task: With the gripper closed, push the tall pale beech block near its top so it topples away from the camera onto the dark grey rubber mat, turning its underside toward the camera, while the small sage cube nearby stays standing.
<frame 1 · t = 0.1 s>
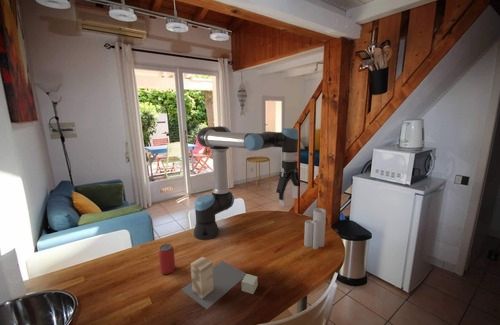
hand: (288, 201, 115), 28 cm above the table, fingers open, 13 cm apart
beer can: (168, 270, 107), on the table
rubber mat: (215, 282, 98), on the table
vase: (314, 245, 126), on the table
sage cube: (249, 289, 94), on the table
beech block: (203, 291, 93), point 1 cm above the table, touching rubber mat
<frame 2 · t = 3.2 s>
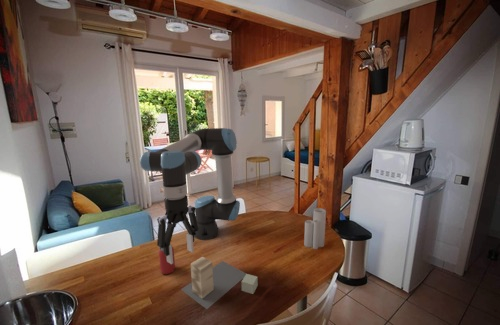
hand: (180, 256, 82), 21 cm above the table, fingers open, 8 cm apart
nothing on the table moved.
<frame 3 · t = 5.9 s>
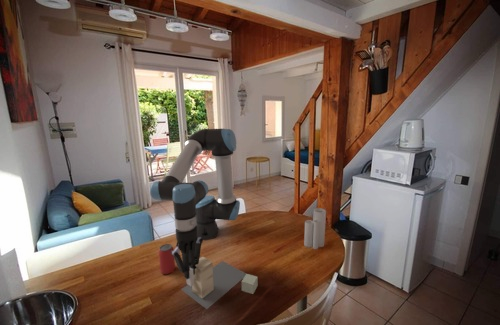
hand: (190, 283, 87), 8 cm above the table, fingers closed
beech block: (203, 291, 93), point 1 cm above the table, touching gripper, rubber mat
everything else where it was.
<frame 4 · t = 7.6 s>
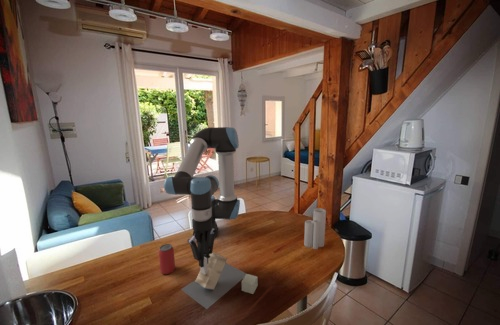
hand: (204, 272, 92), 9 cm above the table, fingers closed
beech block: (204, 286, 93), point 3 cm above the table, tilted 40°, touching gripper, rubber mat
everything else where it was.
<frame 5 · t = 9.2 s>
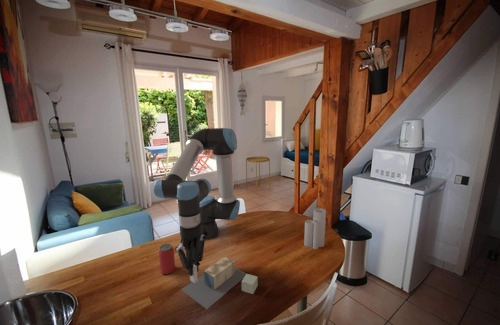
hand: (193, 280, 88), 8 cm above the table, fingers closed
beech block: (208, 280, 94), point 4 cm above the table, tilted 90°, touching rubber mat
everything else where it was.
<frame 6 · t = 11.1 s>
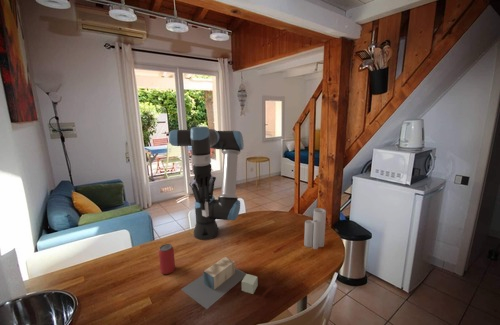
hand: (205, 215, 101), 27 cm above the table, fingers closed
nothing on the table moved.
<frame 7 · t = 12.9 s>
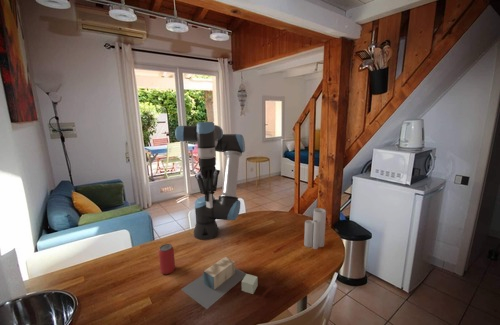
hand: (209, 207, 105), 29 cm above the table, fingers closed
nothing on the table moved.
at the end: beech block tilted 90°; beech block inside the target area (5.6 cm from its centre), point 3.6 cm above the table; sage cube tilted 0° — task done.
